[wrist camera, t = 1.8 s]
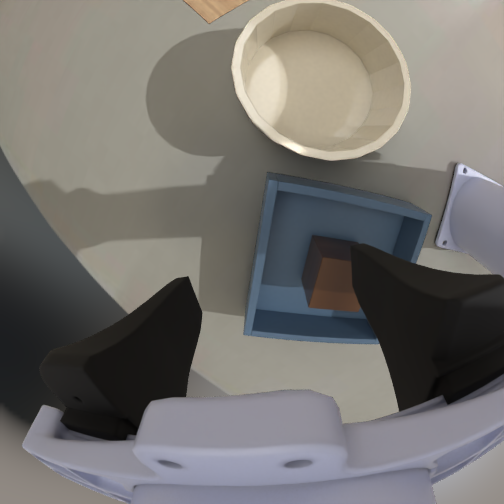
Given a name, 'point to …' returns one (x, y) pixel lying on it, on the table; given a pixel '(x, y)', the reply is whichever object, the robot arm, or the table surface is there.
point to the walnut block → (329, 275)
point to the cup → (321, 78)
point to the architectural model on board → (213, 7)
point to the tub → (297, 245)
